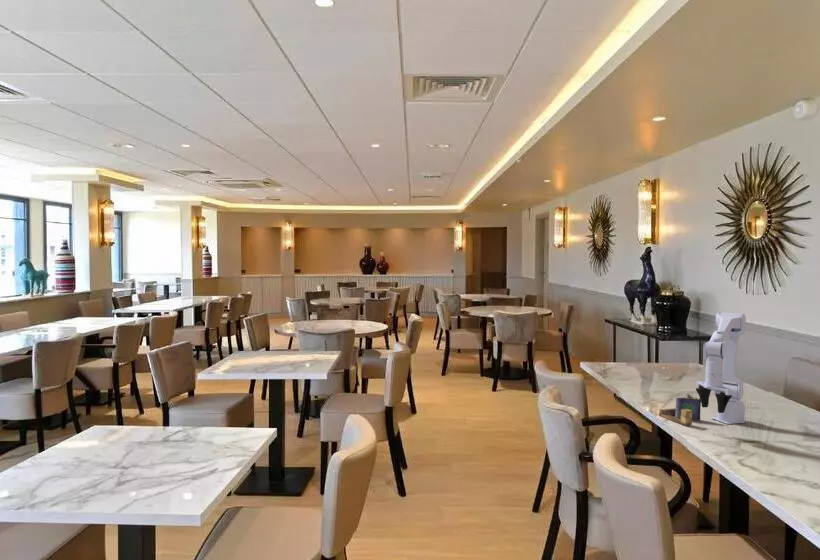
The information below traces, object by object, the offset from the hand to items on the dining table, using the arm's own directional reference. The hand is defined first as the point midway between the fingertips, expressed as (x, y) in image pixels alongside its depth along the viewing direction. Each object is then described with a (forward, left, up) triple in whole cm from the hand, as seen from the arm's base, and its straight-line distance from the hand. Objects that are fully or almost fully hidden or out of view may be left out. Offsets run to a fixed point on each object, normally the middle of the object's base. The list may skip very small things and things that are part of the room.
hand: (712, 409), depth 209 cm
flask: (-6, -19, -10) cm, 22 cm away
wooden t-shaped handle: (-4, -18, -9) cm, 21 cm away
